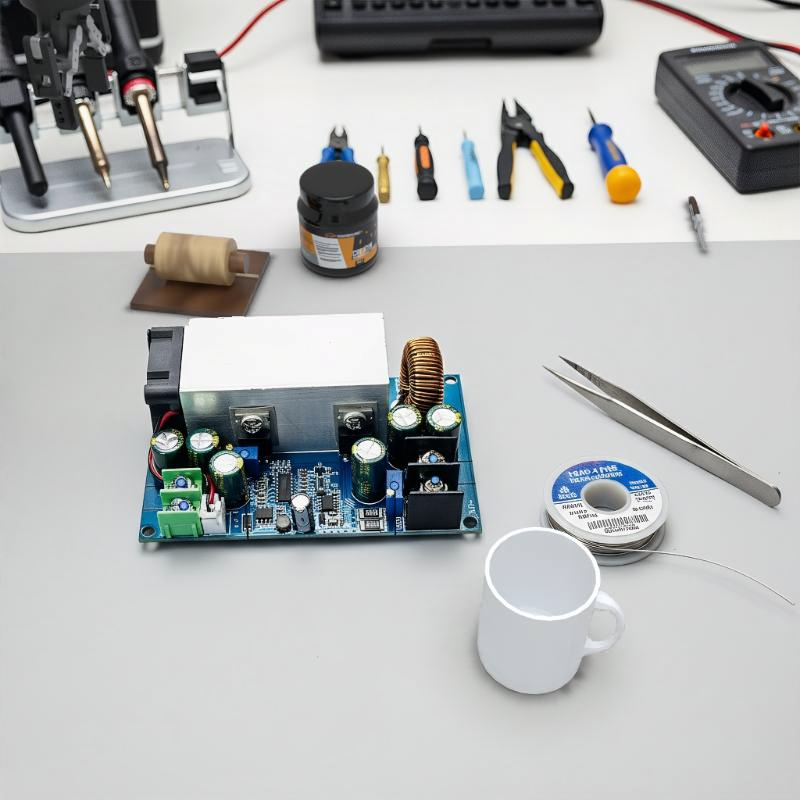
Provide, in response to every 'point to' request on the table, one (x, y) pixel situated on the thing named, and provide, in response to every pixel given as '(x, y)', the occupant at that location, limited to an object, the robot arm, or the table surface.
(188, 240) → the rolling pin
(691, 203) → the pocket knife
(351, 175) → the supplement container
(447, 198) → the table surface
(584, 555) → the mug
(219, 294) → the pastry board
